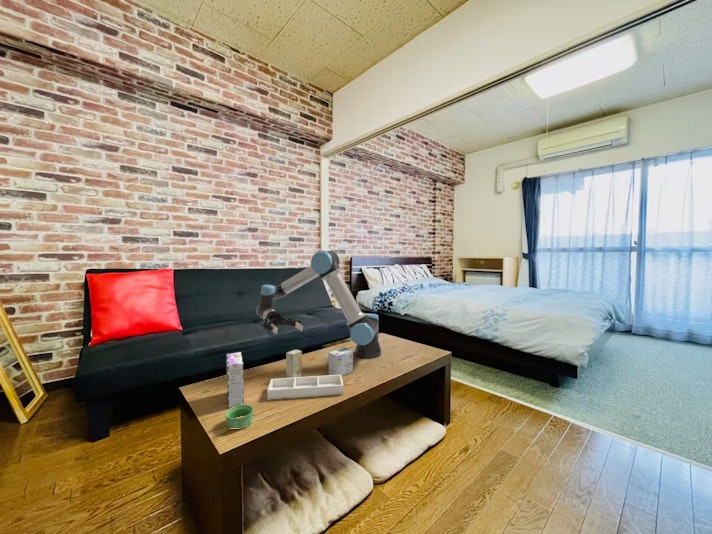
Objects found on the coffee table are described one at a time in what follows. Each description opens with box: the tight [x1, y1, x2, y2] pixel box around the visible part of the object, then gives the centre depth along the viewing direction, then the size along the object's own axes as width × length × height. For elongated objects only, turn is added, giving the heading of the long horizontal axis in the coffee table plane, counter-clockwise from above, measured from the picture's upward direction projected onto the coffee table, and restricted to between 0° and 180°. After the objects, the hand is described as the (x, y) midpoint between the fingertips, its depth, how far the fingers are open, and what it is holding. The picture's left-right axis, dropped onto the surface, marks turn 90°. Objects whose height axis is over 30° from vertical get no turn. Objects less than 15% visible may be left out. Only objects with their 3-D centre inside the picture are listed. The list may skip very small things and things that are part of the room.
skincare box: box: [285, 349, 303, 378], centre depth 134 cm, size 6×4×12 cm
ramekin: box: [224, 403, 255, 429], centre depth 99 cm, size 9×9×4 cm
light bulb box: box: [327, 347, 354, 377], centre depth 140 cm, size 11×7×11 cm, turn 134°
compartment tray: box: [266, 374, 345, 401], centre depth 122 cm, size 30×11×4 cm, turn 98°
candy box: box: [226, 351, 245, 408], centre depth 115 cm, size 14×6×16 cm, turn 24°
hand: (289, 329), depth 141 cm, fingers open, 13 cm apart
